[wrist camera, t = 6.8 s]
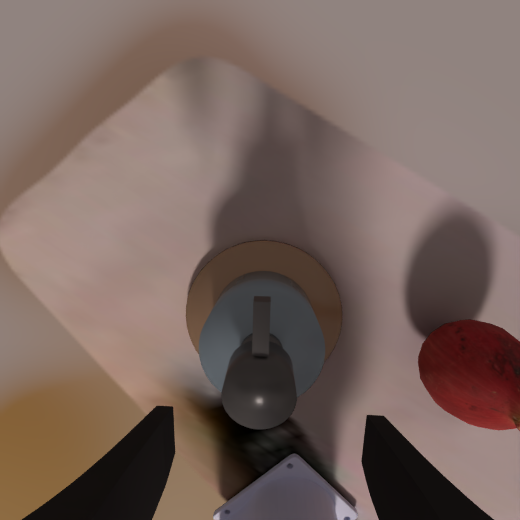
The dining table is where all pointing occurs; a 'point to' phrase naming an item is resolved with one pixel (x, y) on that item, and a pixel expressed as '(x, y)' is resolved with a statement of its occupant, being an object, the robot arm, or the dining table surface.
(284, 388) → the pump head
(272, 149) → the dining table surface
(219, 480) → the dining table surface
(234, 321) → the dispenser
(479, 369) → the red round fruit
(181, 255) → the dining table surface
